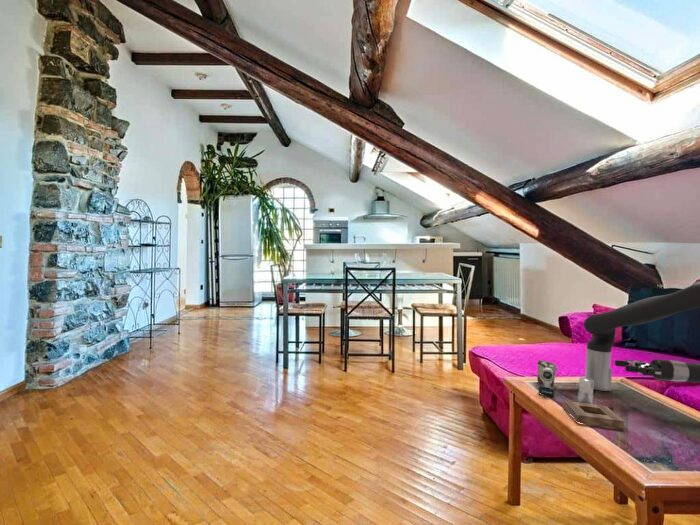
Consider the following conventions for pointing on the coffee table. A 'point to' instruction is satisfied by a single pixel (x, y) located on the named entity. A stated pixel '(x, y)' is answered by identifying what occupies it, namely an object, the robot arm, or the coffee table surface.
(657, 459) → the coffee table surface
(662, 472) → the coffee table surface
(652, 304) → the robot arm
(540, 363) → the food container
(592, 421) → the walnut socket block
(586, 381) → the ribbed metal cylinder
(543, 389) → the watch
